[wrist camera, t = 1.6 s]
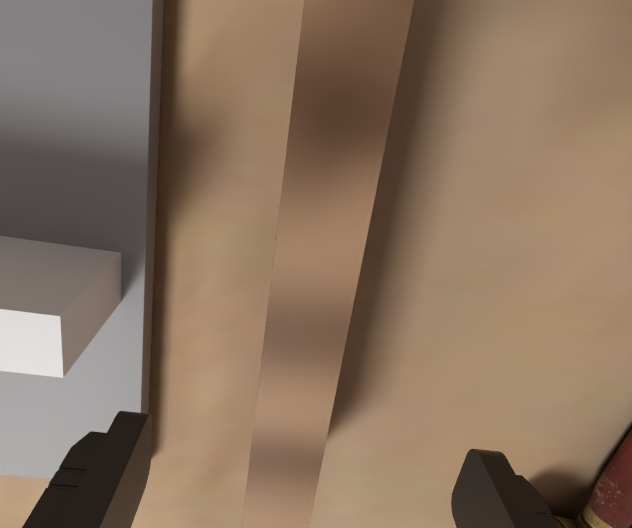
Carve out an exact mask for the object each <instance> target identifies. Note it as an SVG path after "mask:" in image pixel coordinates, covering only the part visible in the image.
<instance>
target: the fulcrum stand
mask: <svg viewBox="0 0 632 528" xmlns="http://www.w3.org/2000/svg"><path fill="white" fill-rule="evenodd" d="M163 19H164V0H0V474H6V475H17V476H28V477H40V478H51V479H52V478H53V476H54V474H55V473H56V471H58V470H59V466H60V465H61V463H62V461H63V460H64V458H65V456H66V455H67V453H68V451H69V450H70V448H71V447H72V446H73V445H74V444H76V443H77V442H78V441H79V440H81V439H82V438H83V437H84V436H85V435H87V434H88V433H89V432H90V431H93V432H103V433H107V431H108V430H109V428H110V426H111V424H112V422H113V420H114V418H115V416H116V415H117V413H118V412H119V411H128V412H137V413H147V414H149V395H150V368H151V341H152V314H153V287H154V261H155V234H156V207H157V180H158V153H159V127H160V100H161V73H162V46H163Z"/></svg>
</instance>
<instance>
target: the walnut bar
mask: <svg viewBox="0 0 632 528" xmlns="http://www.w3.org/2000/svg"><path fill="white" fill-rule="evenodd" d="M413 5H414V0H304V7H303V16H302V24H301V33H300V41H299V49H298V58H297V66H296V75H295V83H294V91H293V100H292V108H291V117H290V125H289V134H288V142H287V150H286V159H285V167H284V176H283V184H282V192H281V201H280V209H279V218H278V226H277V234H276V243H275V251H274V260H273V268H272V277H271V285H270V293H269V302H268V310H267V319H266V327H265V335H264V344H263V352H262V361H261V369H260V378H259V386H258V394H257V403H256V411H255V420H254V428H253V436H252V445H251V453H250V462H249V470H248V478H247V487H246V495H245V504H244V512H243V521H242V528H309V524H310V519H311V514H312V509H313V504H314V499H315V494H316V489H317V484H318V479H319V474H320V469H321V464H322V459H323V454H324V449H325V444H326V439H327V434H328V429H329V424H330V419H331V414H332V409H333V404H334V399H335V394H336V390H337V385H338V380H339V375H340V370H341V365H342V360H343V355H344V350H345V345H346V340H347V335H348V330H349V325H350V320H351V315H352V310H353V305H354V300H355V295H356V290H357V285H358V280H359V275H360V270H361V265H362V260H363V255H364V250H365V245H366V240H367V235H368V230H369V225H370V220H371V215H372V210H373V205H374V200H375V195H376V190H377V185H378V180H379V175H380V170H381V165H382V160H383V155H384V150H385V145H386V140H387V135H388V130H389V125H390V120H391V115H392V110H393V105H394V100H395V95H396V90H397V85H398V80H399V75H400V70H401V65H402V60H403V55H404V50H405V45H406V40H407V35H408V30H409V25H410V20H411V15H412V10H413Z"/></svg>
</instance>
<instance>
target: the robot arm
mask: <svg viewBox="0 0 632 528" xmlns="http://www.w3.org/2000/svg"><path fill="white" fill-rule="evenodd" d="M152 421H153V418H152V414H147V413H137V412H128V411H119V412H118V413H117V415H116V416H115V418H114V420H113V422H112V424H111V426H110V428H109V430H108V431H107V433H103V432H93V431H90V432H89V433H88V434H87V435H85V436H84V437H83V438H82V439H81V440H79V441H78V442H77V443H76V444H74V445H73V446H72V447H71V448H70V450H69V451H68V453H67V455H66V456H65V458H64V460H63V461H62V463H61V465H60V466H59V470H58V471H56V473H55V474H54V476H53V478H52V479H51V481H50V483H49V486H48V488H46V489H45V491H44V493H43V494H42V496H41V497H40V499H39V501H38V502H37V504H36V506H35V507H34V509H33V511H32V512H31V514H30V516H29V517H28V519H27V520H26V522H25V524H24V525H23V527H22V528H131V525H132V522H133V520H134V517H135V514H136V511H137V509H138V506H139V503H140V501H141V498H142V495H143V492H144V490H145V487H146V483H147V479H148V475H149V470H150V462H151V443H152ZM451 505H452V514H453V518H454V521H455V524H456V527H457V528H560V527H559V525H558V524H557V522H556V520H555V518H552V516H551V514H552V513H551V512H550V510H549V508H548V507H547V505H546V503H545V501H544V500H543V498H542V496H541V495H540V493H539V492H538V491H537V490H536V489H535V488H534V487H533V486H532V485H531V484H530V483H529V482H528V481H527V480H526V479H525V478H524V477H523V476H521V475H515V473H514V471H513V469H512V467H511V466H510V464H509V462H508V460H507V458H506V457H505V455H504V454H503V453H501V452H498V451H488V450H479V449H471V450H469V452H468V453H467V455H466V458H465V461H464V463H463V466H462V468H461V471H460V474H459V476H458V479H457V482H456V484H455V487H454V490H453V493H452V501H451Z"/></svg>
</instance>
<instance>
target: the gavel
mask: <svg viewBox="0 0 632 528" xmlns="http://www.w3.org/2000/svg"><path fill="white" fill-rule="evenodd" d="M551 516H552V518H555V520H556V522H557V524H558V525H559V527H560V528H629V526H630V525H631V524H632V429H631V431H630V432H629V434H628V435H627V437H626V438H625V440H624V441H623V443H622V444H621V446H620V447H619V449H618V450H617V452H616V453H615V455H614V456H613V458H612V459H611V461H610V462H609V464H608V465H607V467H606V468H605V470H604V471H603V473H602V474H601V476H600V477H599V479H598V480H597V482H596V483H595V486H594V489H593V491H592V494H591V497H590V499H589V502H588V503H587V505H586V506H585V508H584V509H583V512H581V513H580V514H579V516H578V517H577V519H576V520H571V519H567V518H563V517H558V516H554V515H551Z"/></svg>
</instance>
